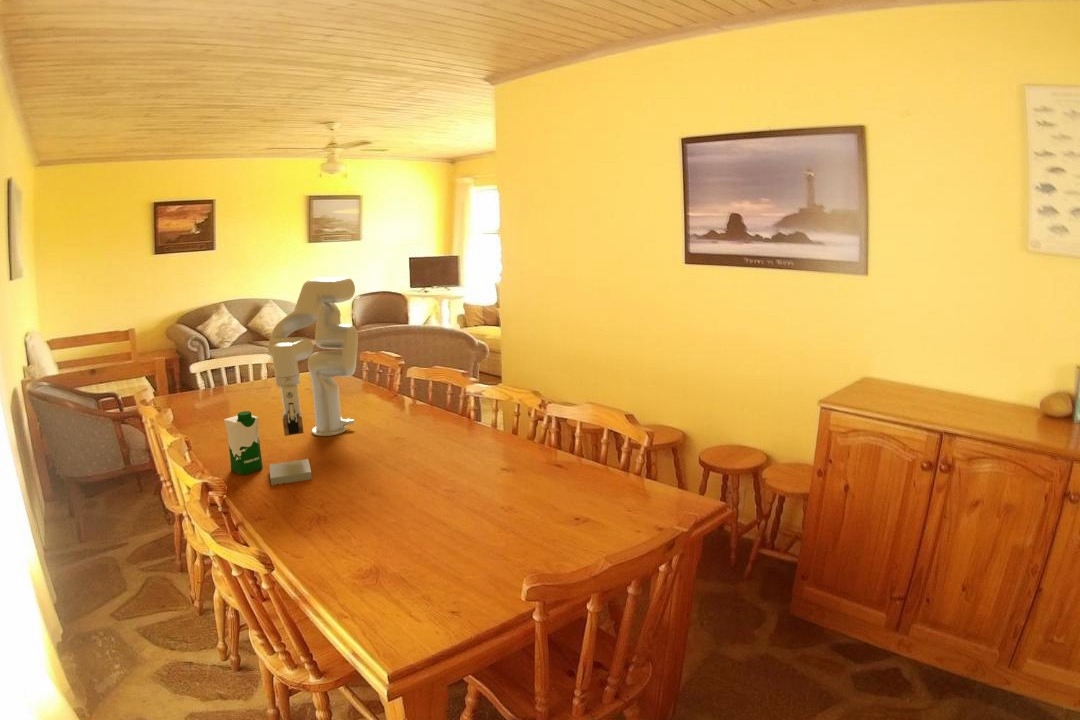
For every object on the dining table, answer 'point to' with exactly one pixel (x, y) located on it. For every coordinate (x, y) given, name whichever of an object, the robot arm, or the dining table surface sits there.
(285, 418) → the walnut block
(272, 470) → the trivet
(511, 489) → the dining table surface
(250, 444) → the soya milk
